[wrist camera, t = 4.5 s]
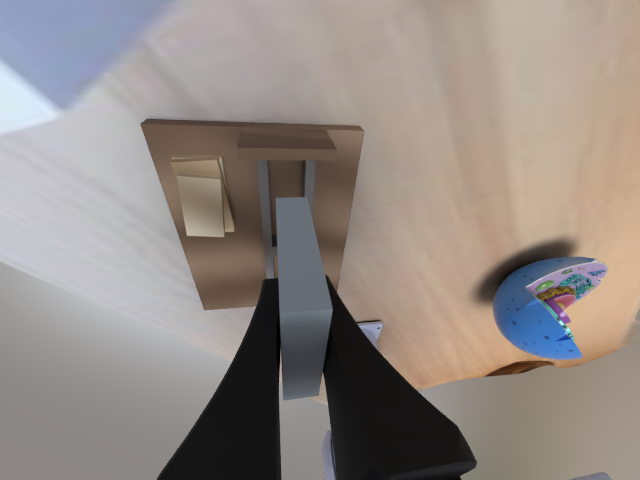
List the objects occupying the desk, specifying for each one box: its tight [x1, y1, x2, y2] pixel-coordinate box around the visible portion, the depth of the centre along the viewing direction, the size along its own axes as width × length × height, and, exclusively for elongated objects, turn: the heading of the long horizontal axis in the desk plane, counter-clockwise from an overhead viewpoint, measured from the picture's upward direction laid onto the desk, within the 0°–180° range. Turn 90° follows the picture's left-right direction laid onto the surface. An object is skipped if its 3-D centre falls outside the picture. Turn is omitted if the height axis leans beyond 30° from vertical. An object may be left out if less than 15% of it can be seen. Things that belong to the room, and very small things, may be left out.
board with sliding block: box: [141, 119, 364, 310], centre depth 20 cm, size 17×13×4 cm
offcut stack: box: [170, 154, 235, 237], centre depth 17 cm, size 6×3×2 cm, turn 176°
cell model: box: [493, 257, 608, 360], centre depth 27 cm, size 10×12×10 cm
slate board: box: [276, 197, 333, 400], centre depth 12 cm, size 6×2×6 cm, turn 176°
